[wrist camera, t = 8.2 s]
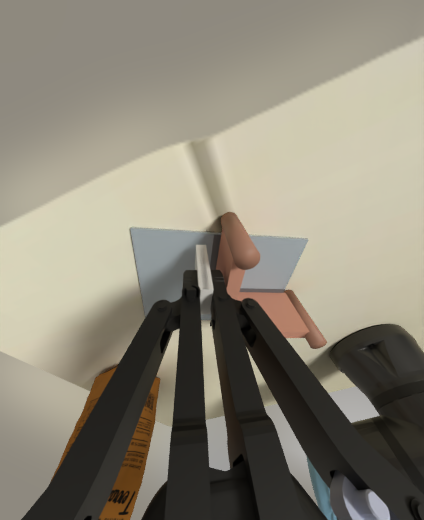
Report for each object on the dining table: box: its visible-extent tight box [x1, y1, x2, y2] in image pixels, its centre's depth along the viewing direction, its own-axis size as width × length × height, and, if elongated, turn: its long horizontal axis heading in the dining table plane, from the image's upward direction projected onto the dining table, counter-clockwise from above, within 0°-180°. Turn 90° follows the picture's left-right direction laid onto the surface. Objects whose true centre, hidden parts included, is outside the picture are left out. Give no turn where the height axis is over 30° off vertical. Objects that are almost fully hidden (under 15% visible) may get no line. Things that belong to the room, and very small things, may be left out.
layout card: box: [130, 227, 308, 320], centre depth 23 cm, size 15×20×1 cm
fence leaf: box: [216, 212, 260, 300], centre depth 17 cm, size 2×10×7 cm, turn 174°
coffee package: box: [50, 367, 160, 520], centre depth 27 cm, size 10×12×22 cm
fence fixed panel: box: [237, 290, 327, 349], centre depth 21 cm, size 2×12×8 cm, turn 84°
